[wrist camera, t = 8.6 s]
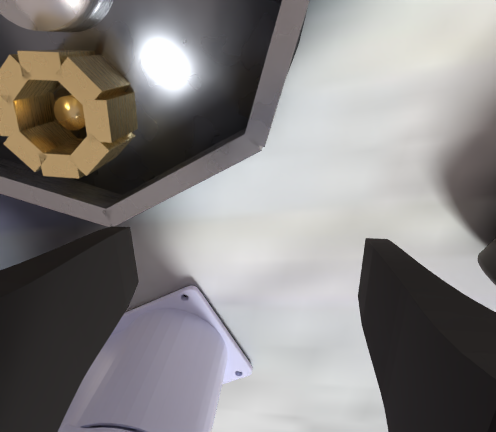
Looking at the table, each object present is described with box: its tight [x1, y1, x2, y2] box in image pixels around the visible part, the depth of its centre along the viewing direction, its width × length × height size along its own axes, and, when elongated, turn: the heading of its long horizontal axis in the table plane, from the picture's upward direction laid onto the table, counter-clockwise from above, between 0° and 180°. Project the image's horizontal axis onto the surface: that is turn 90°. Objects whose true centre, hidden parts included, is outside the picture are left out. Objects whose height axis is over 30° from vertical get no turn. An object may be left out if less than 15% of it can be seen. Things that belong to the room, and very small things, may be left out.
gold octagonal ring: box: [0, 50, 138, 179], centre depth 18 cm, size 5×5×3 cm
